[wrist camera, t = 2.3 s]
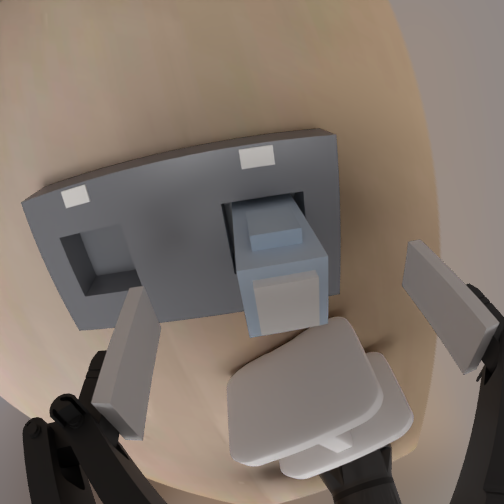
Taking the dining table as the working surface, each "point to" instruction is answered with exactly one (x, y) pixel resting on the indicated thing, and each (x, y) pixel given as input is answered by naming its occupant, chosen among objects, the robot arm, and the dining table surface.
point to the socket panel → (178, 223)
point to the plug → (279, 266)
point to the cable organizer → (315, 403)
